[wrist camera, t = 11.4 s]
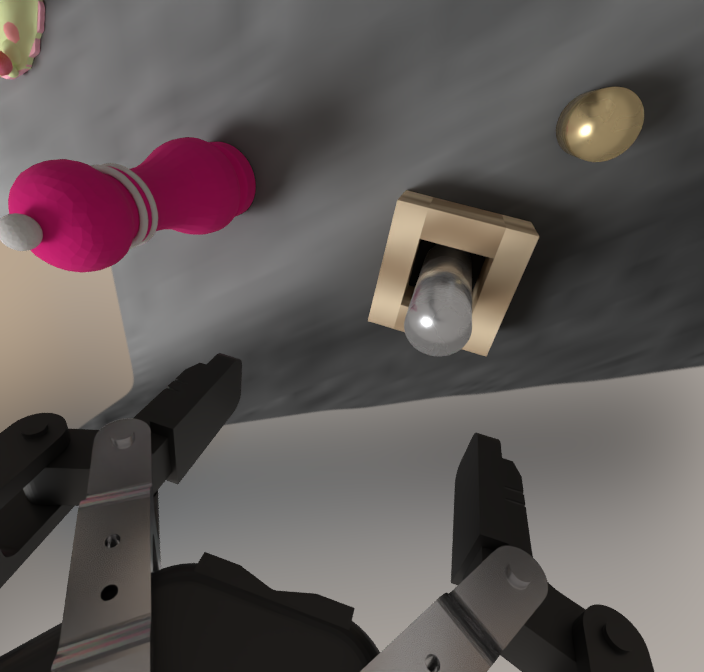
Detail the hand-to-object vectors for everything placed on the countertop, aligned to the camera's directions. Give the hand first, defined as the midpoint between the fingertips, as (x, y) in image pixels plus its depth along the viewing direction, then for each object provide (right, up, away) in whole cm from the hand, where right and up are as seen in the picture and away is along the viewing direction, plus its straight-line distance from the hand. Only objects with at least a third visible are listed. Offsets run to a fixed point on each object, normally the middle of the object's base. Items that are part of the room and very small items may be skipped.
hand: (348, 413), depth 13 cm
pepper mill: (-11, +17, +23) cm, 30 cm away
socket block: (+8, +9, +21) cm, 24 cm away
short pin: (+16, +17, +14) cm, 27 cm away
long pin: (+8, +9, +21) cm, 24 cm away
